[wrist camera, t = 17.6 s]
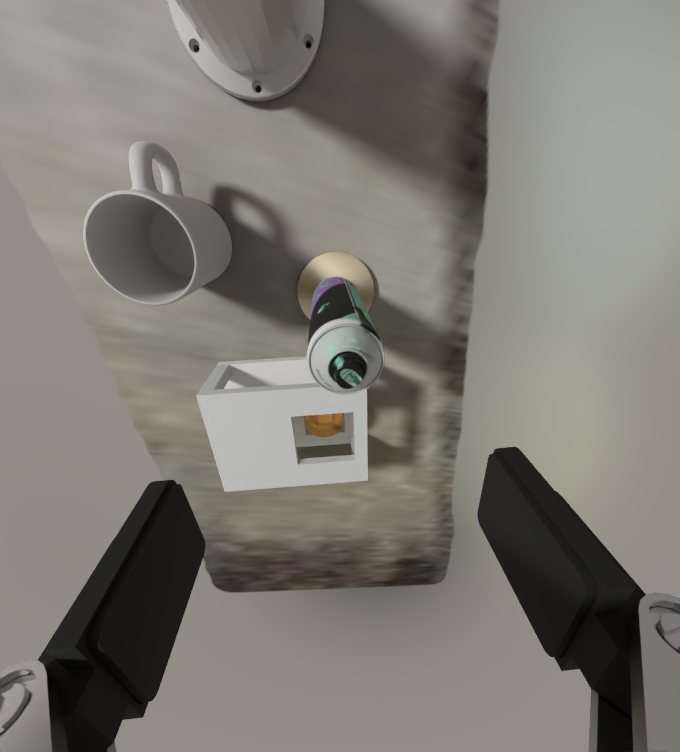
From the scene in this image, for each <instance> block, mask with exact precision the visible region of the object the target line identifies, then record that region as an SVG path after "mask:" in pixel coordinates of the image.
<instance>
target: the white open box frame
mask: <svg viewBox="0 0 680 752" xmlns="http://www.w3.org/2000/svg"><path fill="white" fill-rule="evenodd" d="M196 397H197V400H198V403H199V407H200V410H201V414H202V417H203V420H204V424H205V427H206V430H207V434H208V437H209V440H210V444H211V447H212V450H213V454H214V457H215V460H216V464H217V467H218V470H219V474H220V477H221V481H222V484H223V487H224V491H225V492H228V491H240V490H253V489H266V488H279V487H291V486H304V485H317V484H329V483H342V482H355V481H368V451H367V389H366V390H364V391H361V392H359V393H355V394H350V395H341V394H335V393H332V392H329V391H327V390H325V389H323V388H322V387H321V386H319V385H318V384H317V383H316V381H315V380H314V379H313V377H312V375H311V373H310V370H309V366H308V363H307V356H303V357H287V358H272V359H257V360H242V361H227V362H219V363H218V365H217V366H216V367H215V369H214V370H213V372H212V373H211V375H210V376H209V378H208V379H207V381H206V382H205V383H204V385H203V386H202V388H201V389H200V391H199V392H198V394H197V395H196ZM336 413H343V417H344V424H343V427H342V429H341V430H340V431H339V432H338V433H337V434H335V435H333V436H330V437H318V436H315V435H313V434H311V433H310V432H309V431H308V430H307V429H306V427H305V423H304V419H305V416H308V415H322V414H336ZM348 443H351V448H352V455H344V456H331V457H318V458H305V459H298V454H297V447H308V446H321V445H335V444H348Z"/></svg>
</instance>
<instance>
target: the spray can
mask: <svg viewBox="0 0 680 752" xmlns="http://www.w3.org/2000/svg"><path fill="white" fill-rule="evenodd" d="M384 362H385V355H384V348H383V344H382V341H381V339H380V337H379V335H378V333H377V331H376V328H375V326H374V324H373V322H372V320H371V318H370V316H369V314H368V312H367V310H366V308H365V306H364V304H363V301H362V299H361V297H360V295H359V293H358V291H357V289H356V287H355V286H354V285H353V284H352V283H351V282H350V281H349V280H347V279H345V278H343V277H338V276H334V277H329V278H326V279H324V280H323V281H321V282H320V283H319V284H318V286H317V287H316V289H315V291H314V294H313V299H312V309H311V319H310V329H309V339H308V349H307V363H308V366H309V370H310V373H311V375H312V377H313V379H314V380H315V381H316V383H317V384H318V385H319V386H321V387H322V388H323V389H325V390H327V391H329V392H332V393H335V394H341V395H350V394H355V393H359V392H361V391H364V390H366V389H367V388H369V387H370V386H371V385H372V384H374V383H375V382H376V380H377V379H378V378H379V376H380V375H381V372H382V370H383V367H384Z"/></svg>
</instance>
